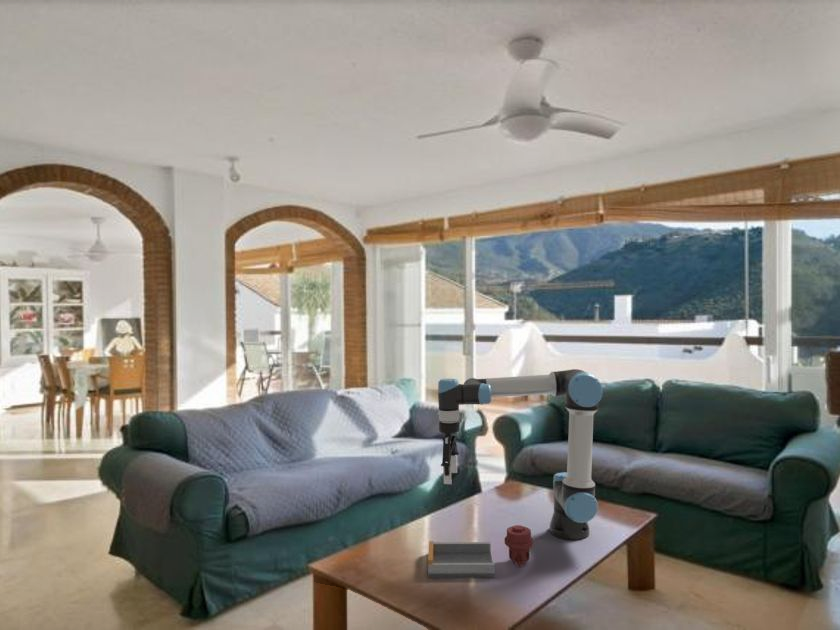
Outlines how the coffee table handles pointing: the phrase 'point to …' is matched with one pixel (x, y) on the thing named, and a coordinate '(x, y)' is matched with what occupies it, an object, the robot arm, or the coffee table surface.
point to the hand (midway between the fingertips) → (450, 478)
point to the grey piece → (460, 560)
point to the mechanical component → (519, 543)
